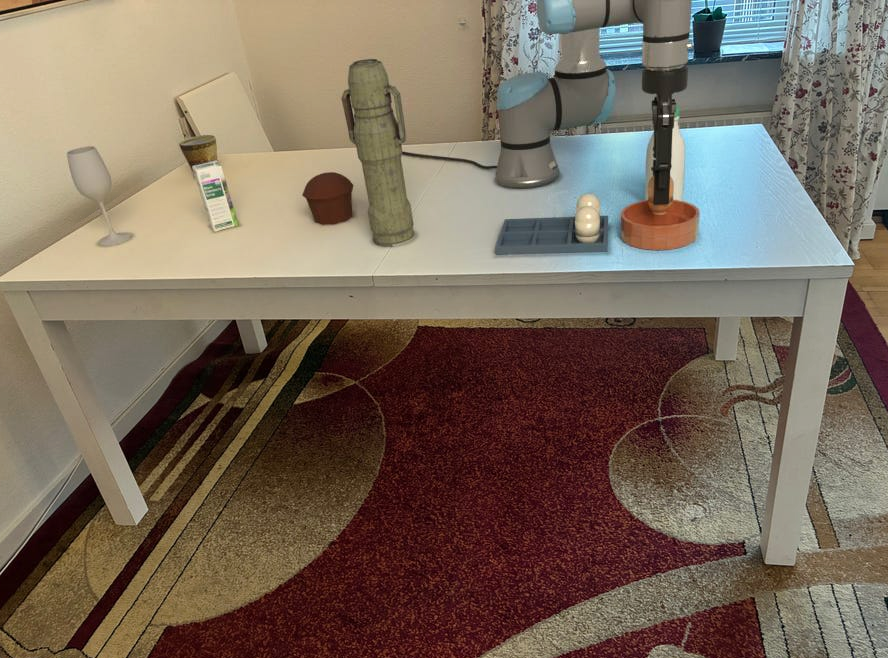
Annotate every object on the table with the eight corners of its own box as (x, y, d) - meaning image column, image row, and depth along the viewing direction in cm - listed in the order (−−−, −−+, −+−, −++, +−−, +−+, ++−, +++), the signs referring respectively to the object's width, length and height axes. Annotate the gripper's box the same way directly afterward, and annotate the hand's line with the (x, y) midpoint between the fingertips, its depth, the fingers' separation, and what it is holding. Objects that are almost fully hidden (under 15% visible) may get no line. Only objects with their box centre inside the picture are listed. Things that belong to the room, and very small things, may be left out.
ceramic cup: (232, 170, 210) (222, 135, 205) (205, 182, 204) (194, 146, 198) (202, 167, 217) (192, 133, 212) (175, 178, 210) (164, 143, 205)
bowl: (606, 235, 144) (606, 210, 141) (665, 217, 148) (666, 193, 145) (651, 259, 132) (652, 233, 130) (713, 239, 137) (715, 213, 134)
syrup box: (214, 232, 168) (195, 170, 161) (209, 225, 173) (191, 164, 165) (239, 226, 170) (221, 164, 163) (233, 219, 175) (216, 158, 167)
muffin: (340, 205, 175) (332, 163, 170) (368, 213, 168) (361, 171, 163) (298, 221, 169) (289, 179, 163) (326, 231, 162) (317, 187, 156)
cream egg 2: (570, 243, 141) (569, 206, 137) (591, 237, 142) (590, 200, 139) (584, 251, 137) (583, 213, 133) (604, 245, 139) (604, 207, 135)
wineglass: (110, 248, 167) (75, 156, 156) (91, 243, 171) (55, 154, 160) (138, 235, 172) (106, 146, 161) (118, 231, 176) (86, 144, 165)
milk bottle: (683, 211, 150) (689, 111, 139) (644, 212, 152) (647, 113, 141) (681, 198, 156) (687, 101, 146) (644, 199, 158) (647, 103, 147)
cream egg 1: (572, 230, 147) (571, 193, 143) (592, 224, 148) (591, 188, 144) (585, 237, 143) (584, 200, 139) (605, 231, 144) (605, 194, 140)
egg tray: (505, 228, 152) (504, 219, 151) (608, 224, 148) (608, 215, 147) (496, 256, 140) (495, 247, 139) (607, 253, 136) (607, 243, 135)
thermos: (374, 230, 159) (343, 59, 141) (426, 229, 156) (402, 54, 138) (360, 246, 152) (326, 68, 134) (414, 246, 149) (387, 64, 131)
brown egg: (642, 212, 139) (643, 173, 135) (662, 206, 140) (663, 167, 136) (657, 218, 135) (658, 179, 131) (677, 212, 136) (679, 173, 132)
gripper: (692, 75, 116) (685, 215, 128) (684, 54, 131) (678, 182, 143) (643, 78, 117) (641, 217, 130) (640, 58, 132) (638, 184, 144)
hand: (660, 198), depth 136 cm, fingers closed on brown egg, 4 cm apart
